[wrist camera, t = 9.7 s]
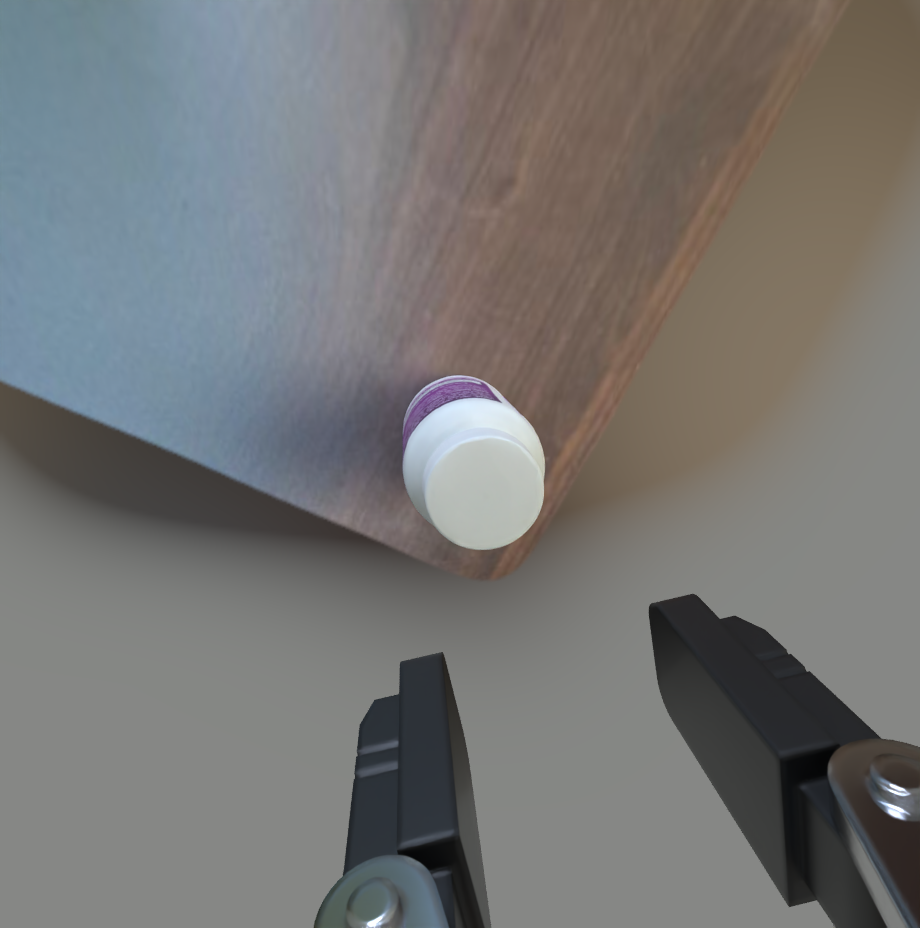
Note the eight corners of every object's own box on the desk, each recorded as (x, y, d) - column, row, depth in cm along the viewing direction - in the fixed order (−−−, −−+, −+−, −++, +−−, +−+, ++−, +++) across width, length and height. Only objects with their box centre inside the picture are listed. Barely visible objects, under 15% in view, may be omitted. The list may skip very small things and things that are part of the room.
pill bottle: (383, 455, 29) (373, 532, 19) (432, 354, 27) (445, 385, 18) (483, 499, 30) (517, 593, 20) (533, 404, 28) (594, 457, 19)
